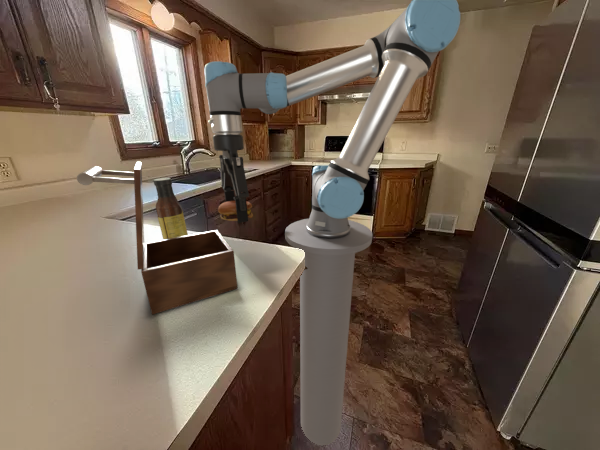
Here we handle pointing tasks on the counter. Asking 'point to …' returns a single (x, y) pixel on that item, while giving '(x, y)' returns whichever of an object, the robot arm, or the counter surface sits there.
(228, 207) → the burger
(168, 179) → the sauce bottle
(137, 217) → the lid
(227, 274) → the brown wooden box
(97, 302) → the counter surface
